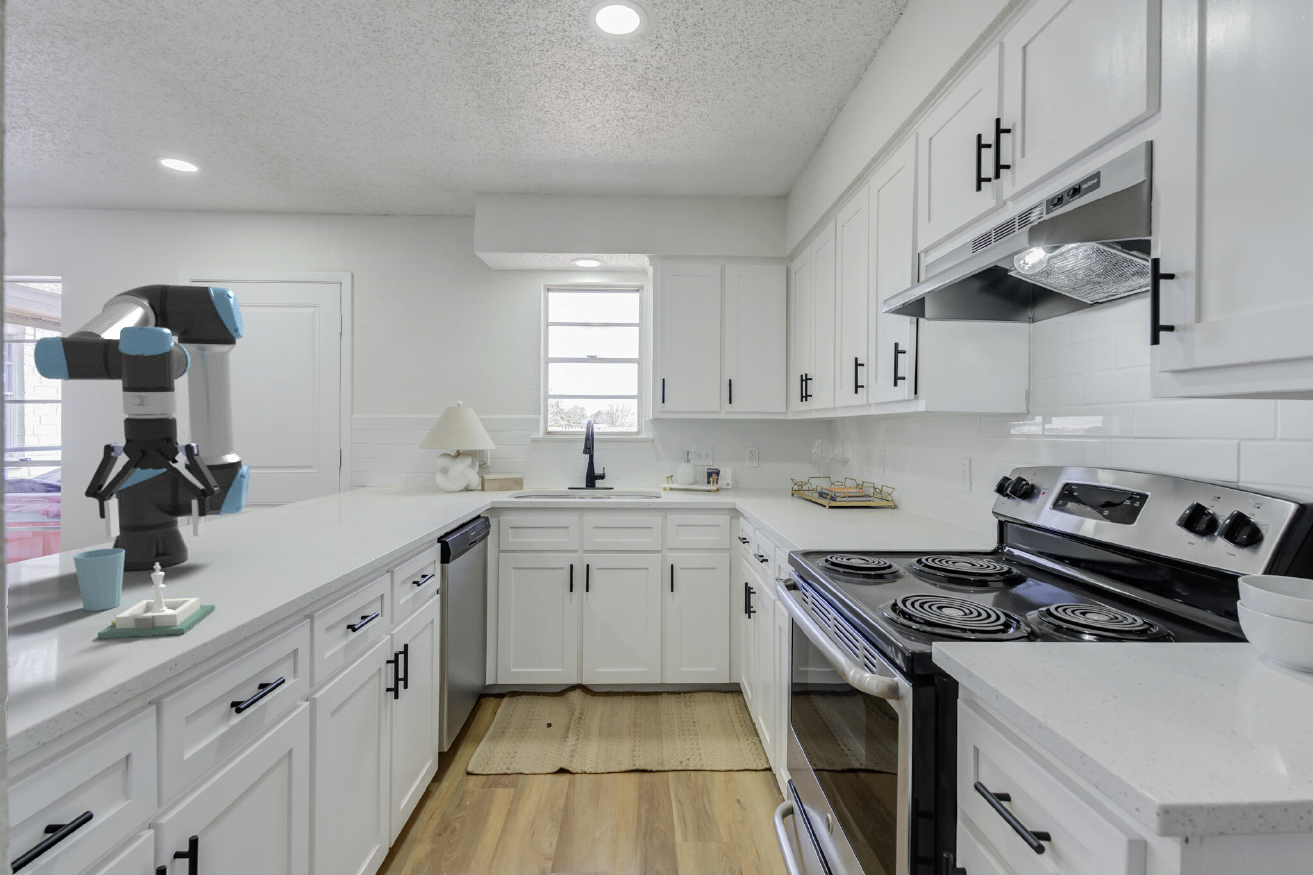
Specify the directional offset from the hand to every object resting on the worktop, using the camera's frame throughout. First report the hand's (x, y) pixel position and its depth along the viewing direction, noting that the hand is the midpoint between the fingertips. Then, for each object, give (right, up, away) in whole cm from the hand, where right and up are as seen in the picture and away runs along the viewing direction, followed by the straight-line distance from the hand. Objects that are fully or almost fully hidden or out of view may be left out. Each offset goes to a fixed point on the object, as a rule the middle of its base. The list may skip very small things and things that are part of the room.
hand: (156, 535), depth 126 cm
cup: (-17, -15, +10) cm, 25 cm away
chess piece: (0, -15, +1) cm, 15 cm away
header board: (0, -16, +1) cm, 16 cm away
